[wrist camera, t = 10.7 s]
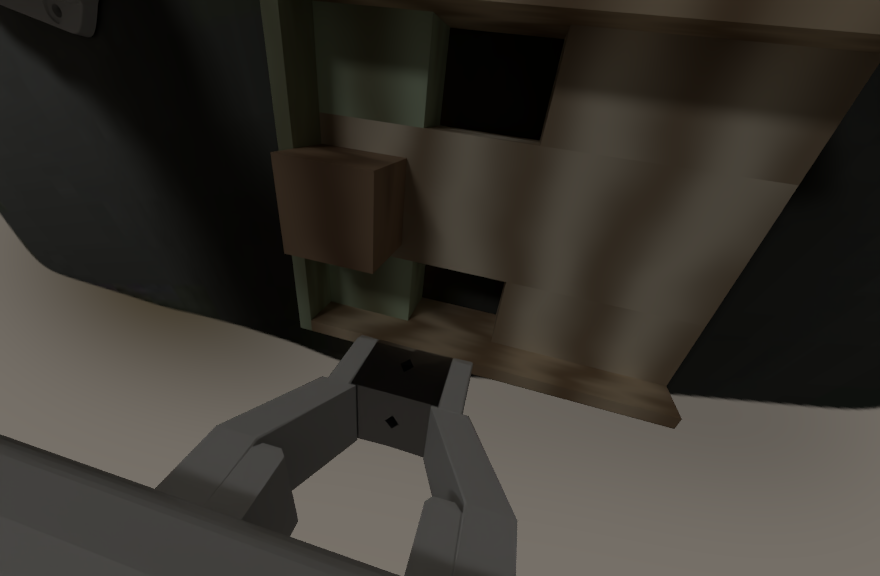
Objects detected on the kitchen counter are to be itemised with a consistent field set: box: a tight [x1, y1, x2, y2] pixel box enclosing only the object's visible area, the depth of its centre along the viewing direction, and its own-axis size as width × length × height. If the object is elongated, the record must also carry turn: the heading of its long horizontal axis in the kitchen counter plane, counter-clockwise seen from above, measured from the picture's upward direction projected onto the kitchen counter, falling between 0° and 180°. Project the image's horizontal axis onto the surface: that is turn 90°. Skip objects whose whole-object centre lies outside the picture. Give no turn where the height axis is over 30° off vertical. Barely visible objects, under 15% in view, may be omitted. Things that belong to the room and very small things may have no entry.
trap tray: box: [260, 0, 880, 429], centre depth 22 cm, size 28×22×7 cm
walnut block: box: [270, 144, 407, 274], centre depth 21 cm, size 6×6×5 cm
